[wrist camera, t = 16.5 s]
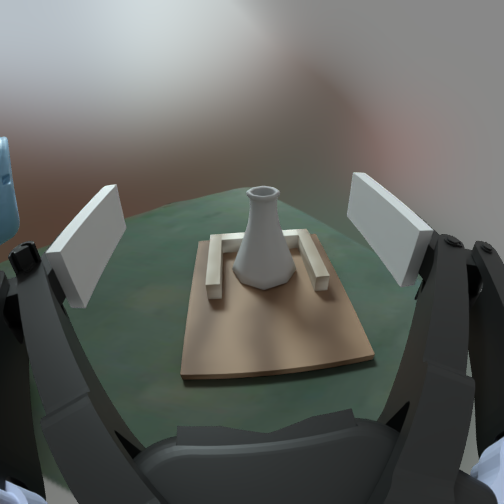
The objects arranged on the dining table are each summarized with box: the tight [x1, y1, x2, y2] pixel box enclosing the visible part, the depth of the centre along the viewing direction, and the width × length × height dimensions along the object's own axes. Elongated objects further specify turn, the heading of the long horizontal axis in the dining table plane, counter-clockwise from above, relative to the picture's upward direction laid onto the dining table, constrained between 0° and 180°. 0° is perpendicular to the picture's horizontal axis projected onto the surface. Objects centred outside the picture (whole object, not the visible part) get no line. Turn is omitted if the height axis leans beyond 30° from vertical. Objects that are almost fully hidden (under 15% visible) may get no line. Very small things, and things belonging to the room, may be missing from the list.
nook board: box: [180, 229, 375, 379], centre depth 30 cm, size 17×22×3 cm
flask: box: [232, 186, 296, 290], centre depth 31 cm, size 7×7×10 cm
